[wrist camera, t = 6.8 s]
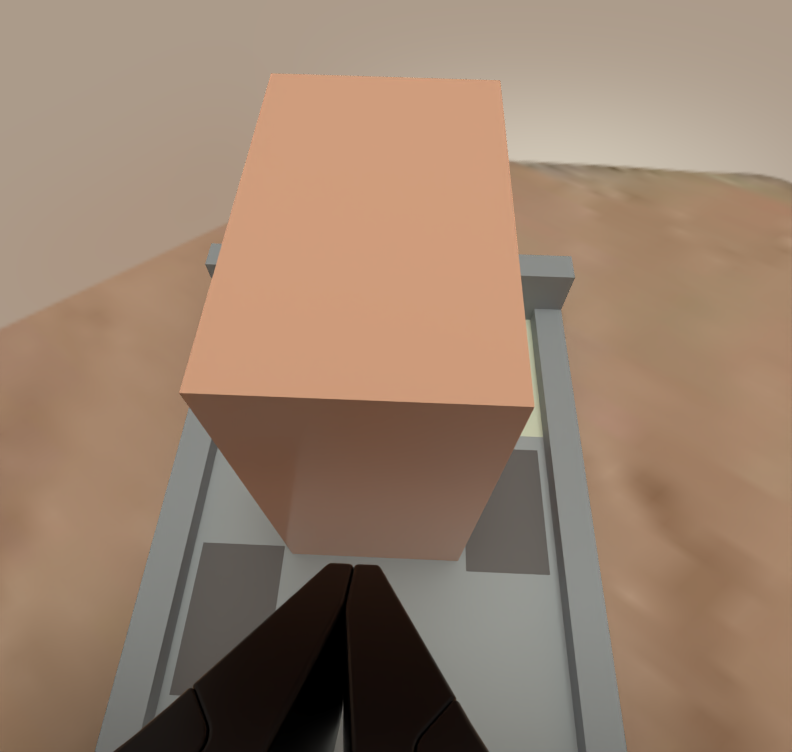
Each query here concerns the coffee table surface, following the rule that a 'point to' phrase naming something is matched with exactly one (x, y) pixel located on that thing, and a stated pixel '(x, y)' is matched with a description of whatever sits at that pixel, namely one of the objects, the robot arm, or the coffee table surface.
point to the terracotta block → (368, 316)
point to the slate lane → (406, 576)
